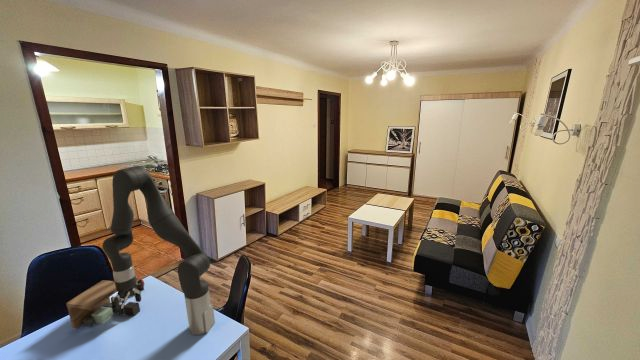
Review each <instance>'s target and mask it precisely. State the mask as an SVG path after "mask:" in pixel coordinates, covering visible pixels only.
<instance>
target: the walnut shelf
mask: <svg viewBox="0 0 640 360" xmlns="http://www.w3.org/2000/svg"><path fill="white" fill-rule="evenodd" d="M116 293H118V291H117V290H116V287H115V282H114V280H104V279H103V280H100V282H97V283H96V284H95V285H93V286H91V287H89V288H88V289H86V290H85V291H83V292H81V293H80V294H78V295H77V296H75V297H74V298H72V299H71V300H69V301H68V302H66V303H65V304H66V308H67V312H68V315H69V319H70V322H71V323H70V324H71V326H72V329H73V330H74V329H75V330H76V329H77V328H80V327H81V326H83V325H82V321H81V320H82V319H83V318H84V317H86V316H87V315H88V314H90V313H91V312H93V311H94V310H95V309H97V308H98V307H100V306H101V305H102V304H104V303H105V302H108V303H111V297H112V296H113V295H114V294H116Z"/></svg>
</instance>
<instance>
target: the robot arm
mask: <svg viewBox="0 0 640 360" xmlns="http://www.w3.org/2000/svg"><path fill="white" fill-rule="evenodd" d="M111 185H112V202H113V205H112V206H113V210H112V211H113V212H112V218H111V224H110V232H111V233H112V234H114V235H112V236H109V237H107V238H106V239H104V240H103V243H102V246H101V247H102V250H103V252H104V253H105V255H106V257H107V259H109V261H110V264H111V267H112V275H113V276H112V277H113V281H114V282H115V287H116V290H117V294H116V295H115V296H110V302H111V304H112V309H113V310H118V313H117V314H118V315H120V316H125V315H124V314H125V310H124V305H126V304H127V300H128V299H129V298H130V297H132V296H133V295H134V298H135V299H134V300H135V303H140V302H142V295H141V293H142V291H144V290H145V288H144V287H145V285H144V286H143V282H142V280H143V279H142V280H140V279H141V278H140V279H136V277H137V275H136V272H135V267H134V266H133V265H134V264H133V260H132V259H133V258H132V256H131V253H129V252H121V251H122V250H124V249H127V248H128V247H130V246H131V245H132V243H133V241H134V235H133V223H134V218H135V217H134V215H135V214H134V211H133V209H132V207H131V205H130V204H129V198H130V194H131V192H135V191H140V192H141V193H142V195H143V197H144V199H145V201H146V205H147V206H146V207H147V221H148V224H149V225H150V227H151V228H152V230H153V231H154V233H155V234H156V235H157V236H158V237H159V238H161V239H162V240H163V241H166V242H167V243H169V244H172V245H174V246H176V247H177V248H179V249H180V250H181V251H182V252H183V253H184V255H185V256H186V258H185V259H183V260H182V261H181V262H180V263H179V264H178V266H177V277H178V280H179V285H180V289H181V291H182V292H183V295H184V301H185V302H184V304H185V310H186V314H187V322H188V323H187V324H188V329H189V333H190V334H191V335H194V336H199V335H200V336H201V335H203V334H208V333H209V331H210V330H211V329H212V327H213V326H214V324H215V323H216V320H215V319H216V318H215V311H214V304H213V303H211V297H210V288H209V282H208V281H207V280H205V279H201V277H202V276H203V275H204V274H205V273H206V272H207V271H208V270H209V269H210V267H211V261H210V259H209V256H208V255H207V254H206V253H205V251H204V250H203V249H202V248H201V246H199V244H198V243H197V242H196V241H195V240H194V239H193V238H192V236H191V235H190V234H189V232H188V230H187V229H186V228H185V227H184V225H183V224H182V221H180V219H179V218H178V217H177V215H176V213H175V212H174V210H173V209H172V208H171V207H170V205H169V204H168V203H167V201H166V199H165V197H164V196H163V195H162V193H161V191H160V190H159V188H158V186H157V183H155V180H154V178H153V177H152V175H151V173H150V172H149V171H148V169H146V168H145V167H143V166H141V165H134V166H130V167H125V168H121V169H118V170H116V171H115V172H114V173H113V176H112V183H111ZM136 285H137V289H138V290H137V289H135V288H136ZM140 287H141V288H140ZM125 303H126V304H125ZM120 304H121V305H120Z"/></svg>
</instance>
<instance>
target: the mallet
mask: <svg viewBox="0 0 640 360" xmlns="http://www.w3.org/2000/svg"><path fill="white" fill-rule="evenodd" d="M139 303H140V302H136V301H134V302H133V301H129V302H126V304H124V310H125V314H124V315H123V316H128V317H135V316H137V315H138V314H139V313H140V312H141V307H140V304H139ZM121 304H122V303H121ZM121 304H120V305H121ZM101 307H109V308H112V304H111V303H108V302H105V303H104V304H102V305H101V306H100V307H98V308H97V309H95V310H94V311H93V312H91V313H90V314H88V315H87V316H86V317H84V318H83V319H82V320H81V321H82V325H81V326H82V327H88V328H89V327H90V328H91V327H92V326H93V325H95V322H93V318H92V314H93V313H94V312H96V311H97V310H99V309H100V308H101ZM112 311H113V313H117V314H119V313H118V310H113V309H112Z"/></svg>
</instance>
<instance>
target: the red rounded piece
mask: <svg viewBox="0 0 640 360" xmlns="http://www.w3.org/2000/svg"><path fill="white" fill-rule="evenodd" d="M136 279H140V280H142V282H143V286H144V287H145V281H144V279H142V278H139V277H138V276H136ZM140 288H141V287H140ZM135 289H137V285H136V288H135ZM137 290H138V289H137Z"/></svg>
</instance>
